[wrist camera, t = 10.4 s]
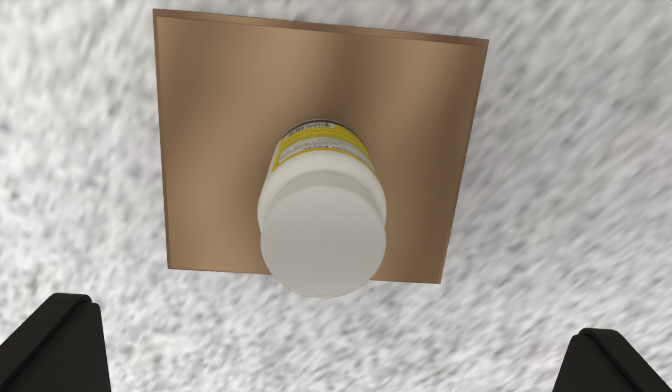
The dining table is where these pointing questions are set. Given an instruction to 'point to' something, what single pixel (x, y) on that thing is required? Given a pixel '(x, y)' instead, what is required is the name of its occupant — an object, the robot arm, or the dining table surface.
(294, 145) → the supplement bottle
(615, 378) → the robot arm
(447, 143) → the walnut stand
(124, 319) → the dining table surface
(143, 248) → the dining table surface
